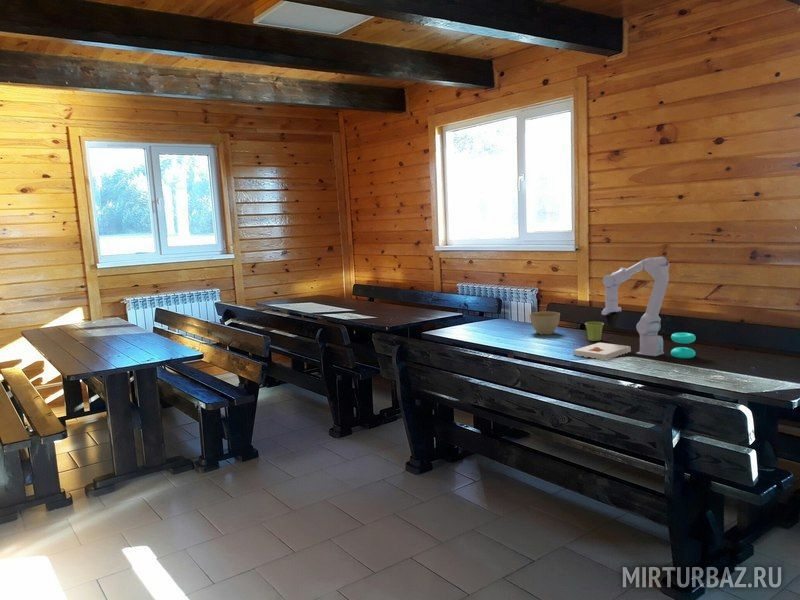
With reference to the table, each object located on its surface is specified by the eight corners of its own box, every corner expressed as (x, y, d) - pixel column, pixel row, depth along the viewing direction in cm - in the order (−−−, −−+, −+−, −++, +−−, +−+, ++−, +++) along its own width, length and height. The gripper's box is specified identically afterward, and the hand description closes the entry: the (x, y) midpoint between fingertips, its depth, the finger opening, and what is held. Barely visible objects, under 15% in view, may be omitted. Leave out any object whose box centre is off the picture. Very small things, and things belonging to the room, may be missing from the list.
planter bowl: (531, 330, 356) (531, 311, 355) (561, 331, 351) (560, 311, 350) (528, 335, 341) (528, 315, 339) (559, 336, 336) (558, 316, 334)
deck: (630, 351, 291) (630, 346, 291) (605, 360, 277) (605, 354, 277) (599, 347, 303) (599, 342, 303) (573, 355, 289) (573, 350, 289)
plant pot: (583, 341, 320) (583, 324, 319) (586, 337, 328) (586, 321, 327) (602, 342, 316) (602, 325, 315) (605, 338, 324) (605, 322, 323)
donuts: (669, 335, 275) (672, 331, 284) (669, 357, 276) (672, 353, 285) (694, 336, 270) (697, 332, 279) (694, 359, 271) (696, 355, 280)
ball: (596, 355, 283) (600, 358, 286) (601, 347, 284) (604, 350, 286) (589, 352, 286) (592, 355, 289) (593, 344, 286) (596, 347, 289)
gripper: (611, 297, 308) (611, 325, 309) (595, 300, 298) (595, 329, 300) (625, 298, 303) (625, 326, 304) (609, 302, 293) (609, 330, 295)
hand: (611, 328), depth 302 cm, fingers closed
